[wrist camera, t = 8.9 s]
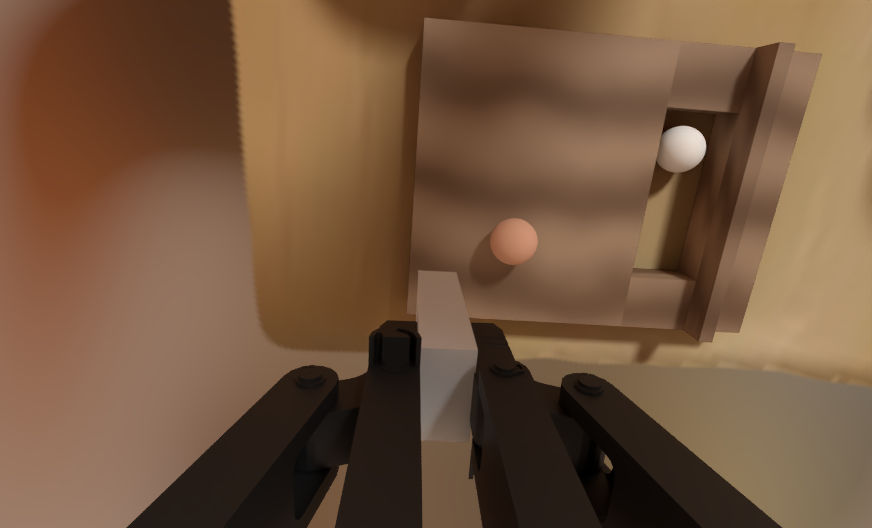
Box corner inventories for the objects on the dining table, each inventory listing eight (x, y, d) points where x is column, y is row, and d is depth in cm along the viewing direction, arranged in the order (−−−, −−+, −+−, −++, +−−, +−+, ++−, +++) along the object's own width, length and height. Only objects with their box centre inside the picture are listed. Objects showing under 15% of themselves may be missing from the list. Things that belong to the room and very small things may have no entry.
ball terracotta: (489, 212, 31) (496, 221, 28) (534, 215, 32) (546, 225, 28) (484, 256, 32) (491, 269, 29) (528, 259, 32) (539, 272, 29)
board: (424, 26, 30) (424, 9, 26) (791, 59, 31) (850, 48, 27) (407, 301, 36) (405, 325, 32) (718, 319, 37) (757, 344, 33)
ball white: (649, 123, 31) (693, 125, 29) (677, 126, 33) (721, 127, 30) (640, 169, 32) (682, 175, 30) (668, 169, 34) (709, 175, 31)
